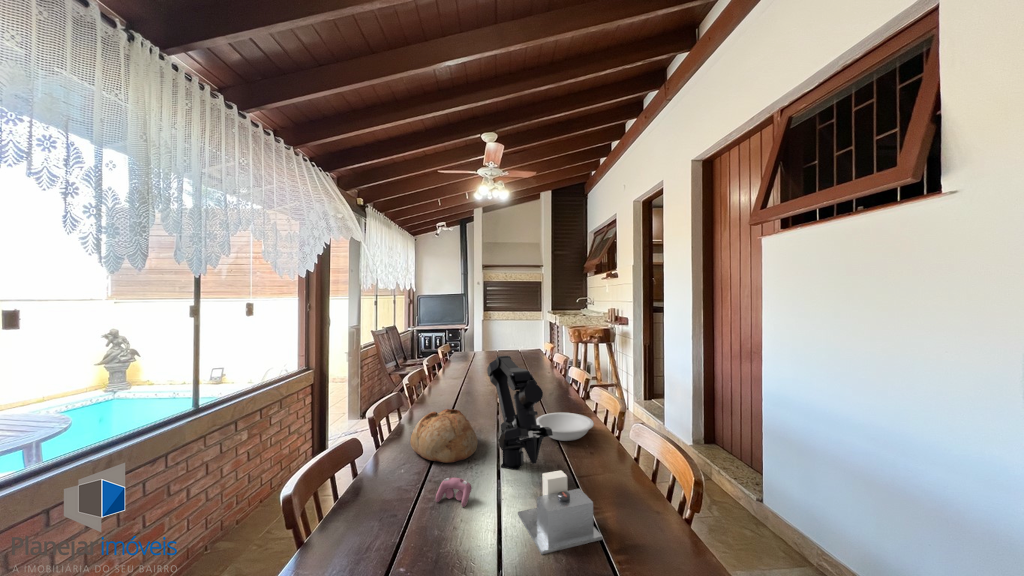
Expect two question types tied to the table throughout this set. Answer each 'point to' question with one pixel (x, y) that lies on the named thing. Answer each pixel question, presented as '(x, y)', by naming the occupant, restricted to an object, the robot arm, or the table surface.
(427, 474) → the table surface
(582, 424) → the soup bowl
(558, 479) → the white rectangular block
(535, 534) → the mount
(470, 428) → the bread
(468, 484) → the video game controller
